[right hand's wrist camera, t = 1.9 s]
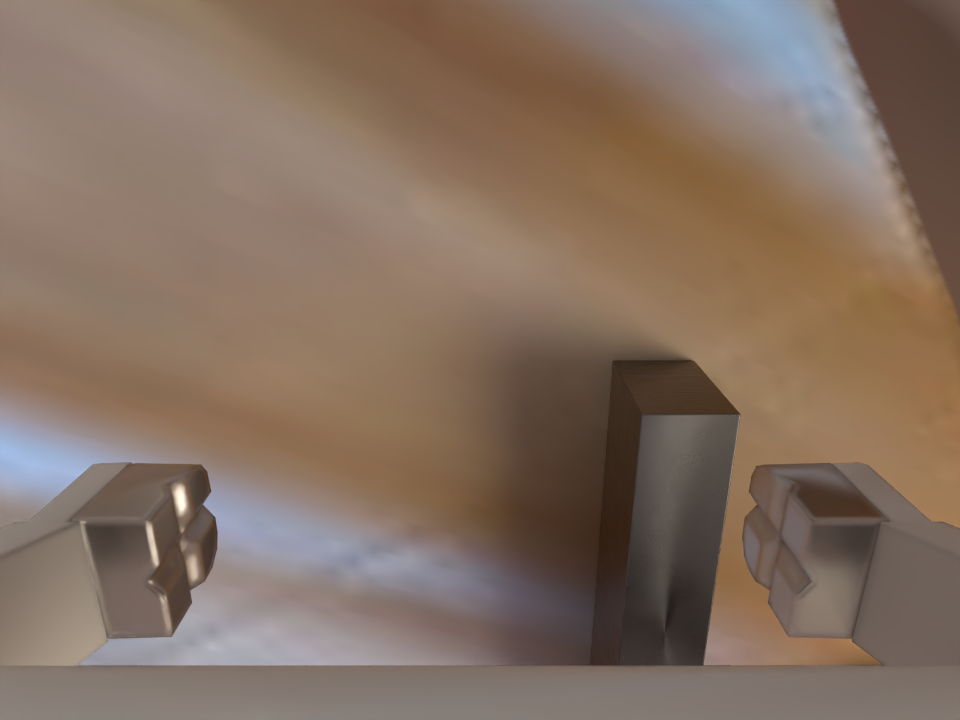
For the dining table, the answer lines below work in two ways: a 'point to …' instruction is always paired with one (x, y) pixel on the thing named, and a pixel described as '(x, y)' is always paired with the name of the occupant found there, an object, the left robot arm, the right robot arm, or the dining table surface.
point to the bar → (661, 514)
